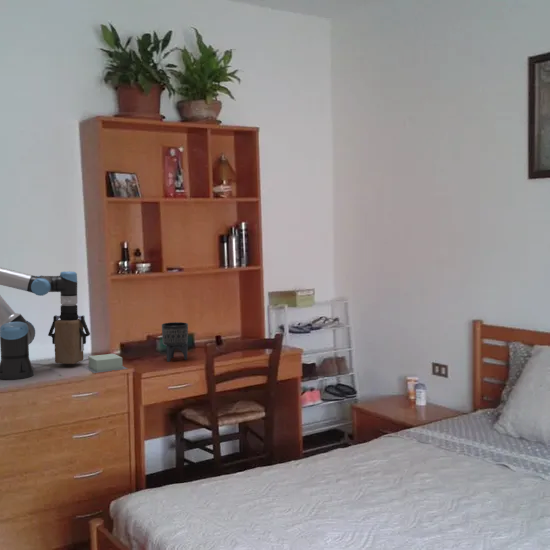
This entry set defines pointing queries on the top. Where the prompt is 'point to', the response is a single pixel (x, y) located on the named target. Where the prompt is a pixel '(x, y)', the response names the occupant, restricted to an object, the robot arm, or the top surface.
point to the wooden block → (68, 341)
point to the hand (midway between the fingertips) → (69, 350)
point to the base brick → (105, 362)
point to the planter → (175, 338)
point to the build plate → (102, 371)
